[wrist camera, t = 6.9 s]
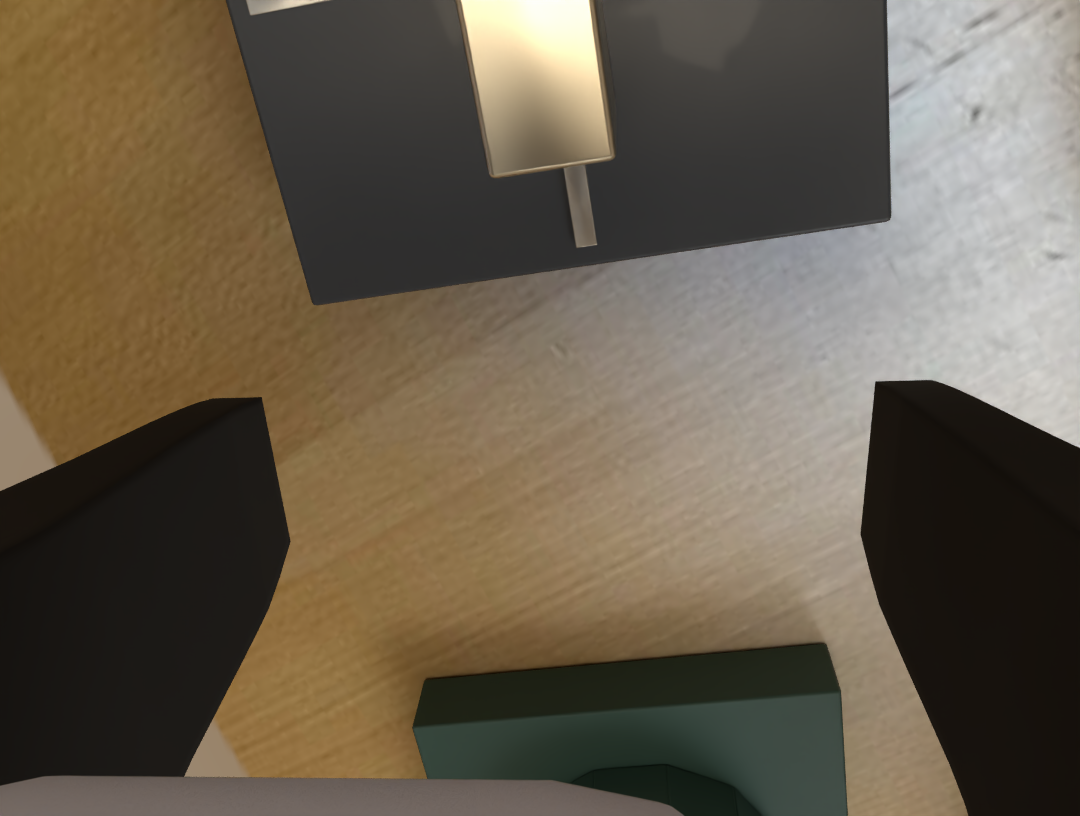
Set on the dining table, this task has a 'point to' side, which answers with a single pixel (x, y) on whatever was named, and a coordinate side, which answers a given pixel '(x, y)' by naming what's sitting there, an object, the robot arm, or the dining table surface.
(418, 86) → the dial panel
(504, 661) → the dining table surface
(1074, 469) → the robot arm
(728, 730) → the button base
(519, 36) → the dial
